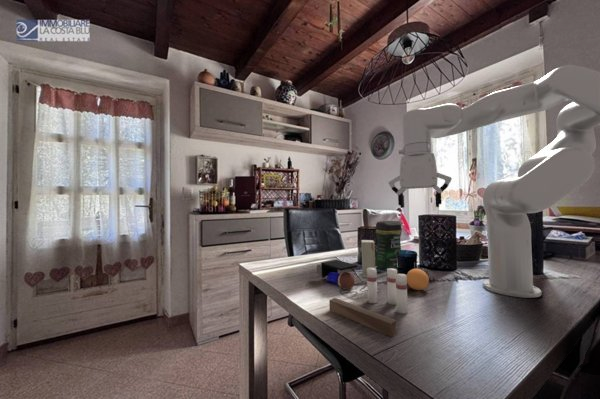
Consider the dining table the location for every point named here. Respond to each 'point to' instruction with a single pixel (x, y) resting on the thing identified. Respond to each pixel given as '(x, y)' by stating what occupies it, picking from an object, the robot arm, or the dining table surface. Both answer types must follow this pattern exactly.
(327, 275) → the figurine character
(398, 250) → the coffee jar
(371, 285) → the pin
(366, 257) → the skincare box
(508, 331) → the dining table surface
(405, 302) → the pin
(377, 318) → the wooden bar
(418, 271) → the ball
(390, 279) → the front pin
